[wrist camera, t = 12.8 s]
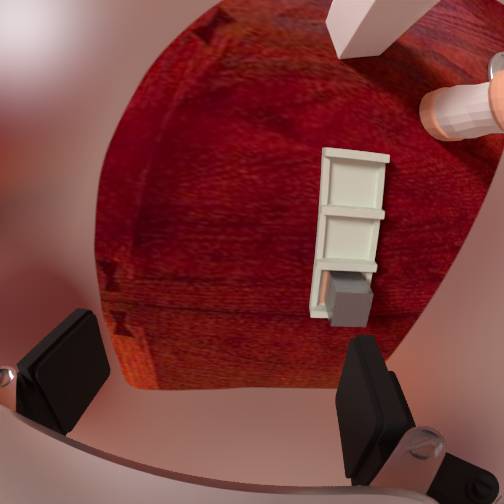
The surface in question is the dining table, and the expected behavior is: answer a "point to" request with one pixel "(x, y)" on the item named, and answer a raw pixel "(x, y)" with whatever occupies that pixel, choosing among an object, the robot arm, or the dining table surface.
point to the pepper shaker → (464, 110)
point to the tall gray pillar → (347, 298)
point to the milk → (371, 24)
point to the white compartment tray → (347, 217)
